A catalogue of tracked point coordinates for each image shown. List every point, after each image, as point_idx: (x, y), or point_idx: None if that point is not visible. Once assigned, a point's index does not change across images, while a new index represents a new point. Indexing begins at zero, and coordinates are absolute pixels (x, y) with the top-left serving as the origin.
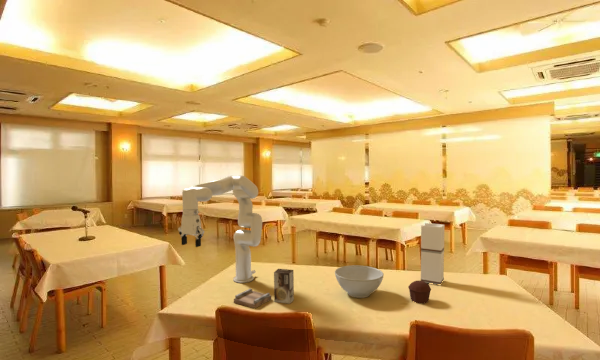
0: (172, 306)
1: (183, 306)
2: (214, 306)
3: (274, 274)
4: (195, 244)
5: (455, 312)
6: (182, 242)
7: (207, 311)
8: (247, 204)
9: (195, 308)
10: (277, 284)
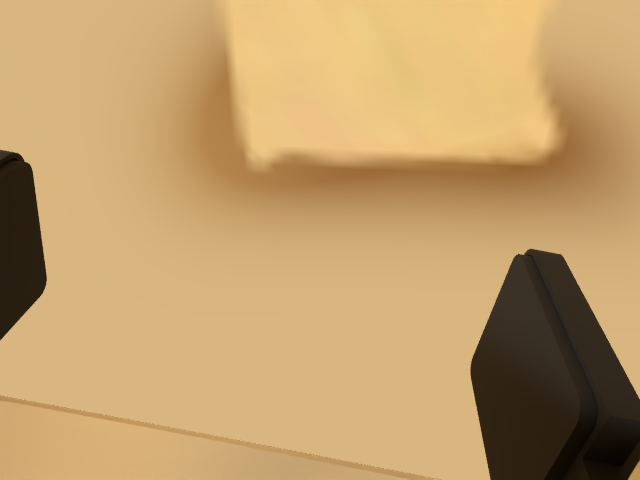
0: (240, 97)
1: (312, 75)
2: (541, 5)
3: None
4: (478, 412)
5: None
6: (2, 326)
7: (523, 100)
8: None
9: (414, 80)
10: None
